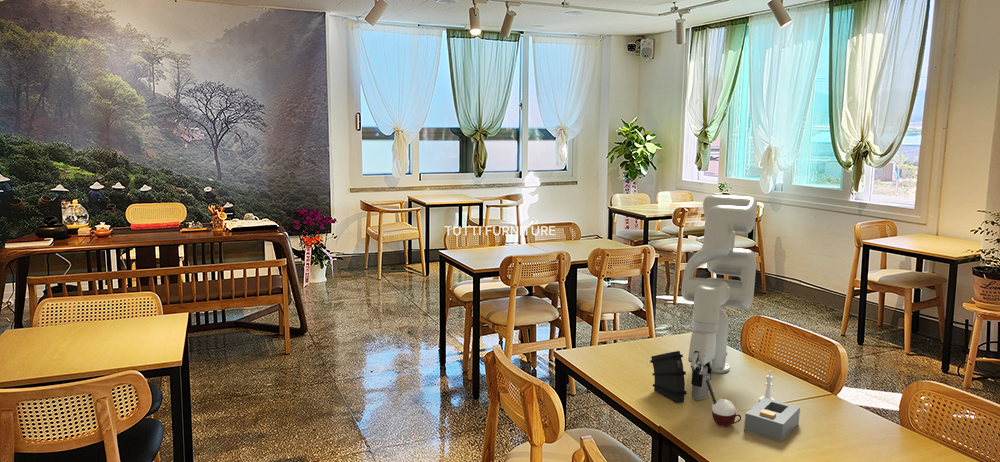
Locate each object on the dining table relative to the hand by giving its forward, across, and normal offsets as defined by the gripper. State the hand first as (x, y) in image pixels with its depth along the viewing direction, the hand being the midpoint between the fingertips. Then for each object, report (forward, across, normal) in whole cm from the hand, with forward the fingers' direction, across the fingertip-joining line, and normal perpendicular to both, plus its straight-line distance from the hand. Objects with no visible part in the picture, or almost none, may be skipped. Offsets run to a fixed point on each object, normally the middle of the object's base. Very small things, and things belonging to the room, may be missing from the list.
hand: (701, 382), depth 204 cm
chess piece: (+6, -12, +16) cm, 21 cm away
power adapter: (+5, 0, 0) cm, 5 cm away
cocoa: (+5, +13, +12) cm, 18 cm away
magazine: (+6, +5, -9) cm, 11 cm away
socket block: (+5, +5, +23) cm, 24 cm away
